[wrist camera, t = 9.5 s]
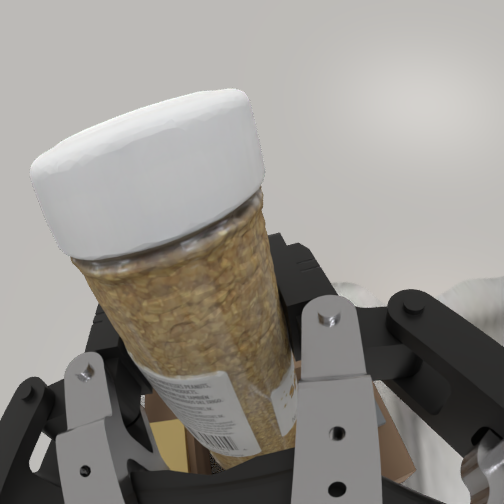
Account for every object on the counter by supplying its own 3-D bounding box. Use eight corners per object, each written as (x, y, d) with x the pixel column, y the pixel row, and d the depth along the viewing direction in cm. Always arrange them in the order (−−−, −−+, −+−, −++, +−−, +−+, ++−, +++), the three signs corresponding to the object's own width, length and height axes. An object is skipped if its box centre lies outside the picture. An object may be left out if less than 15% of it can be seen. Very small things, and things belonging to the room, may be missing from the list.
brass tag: (185, 420, 14) (183, 418, 14) (190, 476, 11) (188, 474, 11) (150, 425, 14) (148, 423, 14) (151, 479, 11) (149, 477, 11)
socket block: (345, 357, 18) (346, 332, 17) (403, 481, 11) (416, 470, 9) (162, 404, 18) (145, 383, 16) (170, 535, 10) (148, 531, 9)
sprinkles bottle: (327, 431, 12) (300, 74, 5) (253, 500, 10) (19, 166, 2) (258, 381, 15) (175, 95, 8) (190, 436, 13) (22, 157, 6)
